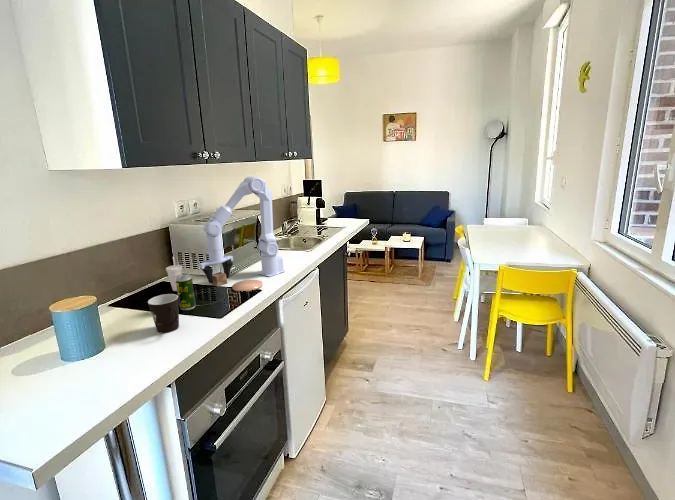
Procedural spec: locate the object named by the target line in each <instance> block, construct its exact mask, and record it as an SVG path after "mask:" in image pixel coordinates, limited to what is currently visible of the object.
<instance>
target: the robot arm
mask: <svg viewBox="0 0 675 500" xmlns="http://www.w3.org/2000/svg"><path fill="white" fill-rule="evenodd" d="M252 194H254V195H255V196H256V197H258V198H259V210H260V229H261V231H260V232H261V234H260V236H259V241H258V244H257V247H258V249H259V251H260V261H261V271H260V272H258V275H262V276H265V277H269V278H270V277H272V276H277V275H279V274H281V273H284V272H285V270H284V258H283V255H282V254H281V253H280V252H278V251H279V245H278V244H277V243H278V242H277V239H276V236H275V235H274V217H273V194H272V191H271V190H270V188H269V187H268V185H267V182H266V181H265V180H264V179H262V178H261V177H259V176H250V175H249V176H247V177H245V178H244V179H243V181H241V182H240V184H238V186H237V189H236V190H235V191H234V192H233V193H232V195H231V196H230V198H229V199H228V200H227V202H226V204H224V205H221V206H219V207H217V208H215V210H216V212H215V213H214V214H213V215H212V217H209V218H208V219H209V220H208V221H206V222H205V223H204V225H203V226H204V227H203V228H202V229H203V231H204V233H205V234H206V245H207V253H208V260H205V261H204V262H203V261H202V262H201V263H199V269H200V270H202V271H203V274H204V275H205V276H206V279H207V281H208V283H209V284H211V285H212V283H213V276H212V274H213V271H214V270H213V268H212V267H213V266H217V265H220V264H221V265H222V268H223V273H225V274H226V278H227V280H228V279H229V278H230V273H231V268H232V267H233V265H234V263H233V261H234V256H233V255H226V256H224V253H223V252H224V250H223V245H222V243H223V242H222V237H221V233H222V231H223V227H224V226H225V225H226V223H227V222H228V221H229V220H230V218H231V217H232V216H233V210H234V208H236V206H237V205H238V204H239V203H240V202H241V200H242V199H243V198H244V197H245V196H248V195H252Z"/></svg>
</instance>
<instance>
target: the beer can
mask: <svg viewBox="0 0 675 500" xmlns="http://www.w3.org/2000/svg"><path fill="white" fill-rule="evenodd" d="M176 286H177V291H176V292H177V295H178V306H179V308H180V310H182V311H190V310H193V309H195V308H196V305H197V304H196V297H195V296H196V295H195V291H194V289H195V288H194V283H193V277H192V274H190V273H182V275H178V276H176Z"/></svg>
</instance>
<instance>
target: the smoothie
mask: <svg viewBox="0 0 675 500" xmlns="http://www.w3.org/2000/svg"><path fill="white" fill-rule="evenodd" d="M172 261H173V262H172V263H173V265H169V266H167V267H165V271H166V272H167V273H166V274H167V276H168V279H169V282H170V286H171V289H172V291H173V292H177V286H176V276H178V275H182V274H183V269H184V266H183V265H181V264H176V261H175V256H172Z"/></svg>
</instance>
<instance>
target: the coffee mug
mask: <svg viewBox="0 0 675 500" xmlns="http://www.w3.org/2000/svg"><path fill="white" fill-rule="evenodd" d="M147 305H148V307H149V311H150V314H151V317H152V319H153V323H154V326H155V328H156V331H157V332H158V333H159V334H168V333H171V332H172V333H173V332H174V331H177V330H178V329H179V327H180V320H179V319H180V318H179V317H180V316H179V315H180V313H179V298H178V294H174V293H167V294H165V293H164V294H160V295H157V296H153V297H151V298H150V299H148V301H147Z"/></svg>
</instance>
